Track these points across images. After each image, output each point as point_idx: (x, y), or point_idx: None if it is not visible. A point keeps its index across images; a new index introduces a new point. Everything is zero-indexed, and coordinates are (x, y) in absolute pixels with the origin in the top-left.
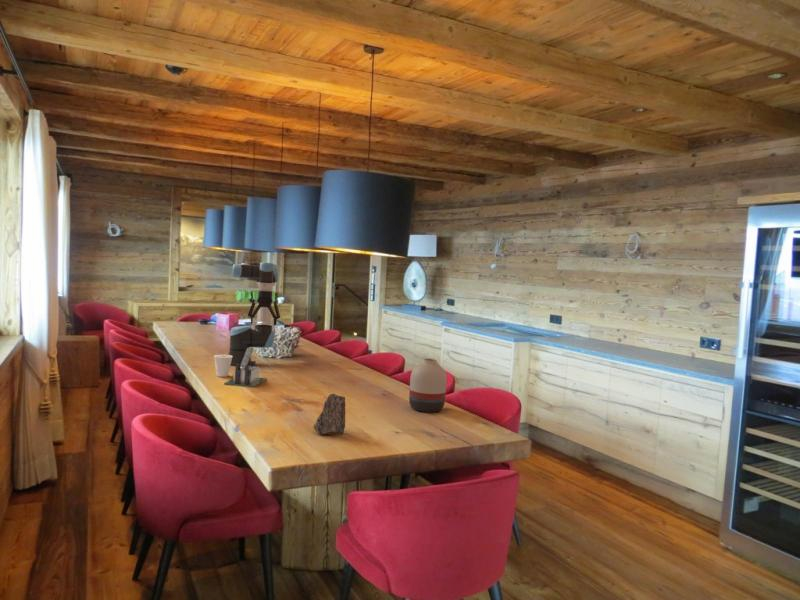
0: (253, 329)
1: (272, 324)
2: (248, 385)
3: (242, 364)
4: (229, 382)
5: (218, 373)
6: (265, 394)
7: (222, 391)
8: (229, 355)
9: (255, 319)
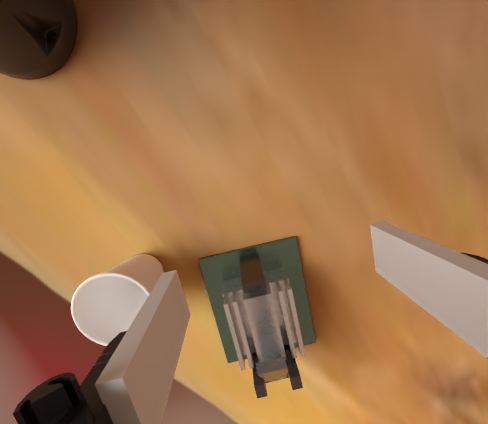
0: (189, 314)
1: (435, 310)
2: (297, 345)
3: (272, 379)
4: (235, 349)
5: (141, 295)
6: (375, 384)
7: (271, 415)
8: (117, 276)
9: (137, 351)
